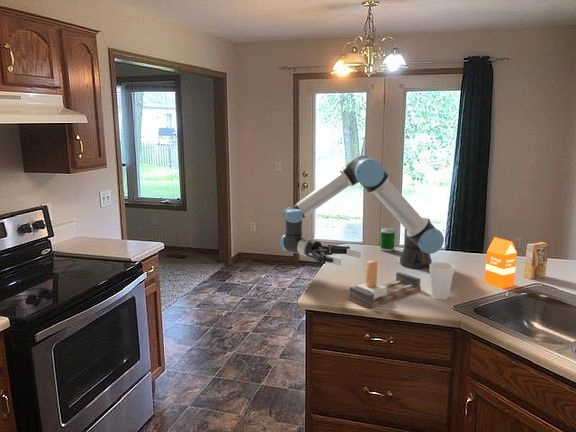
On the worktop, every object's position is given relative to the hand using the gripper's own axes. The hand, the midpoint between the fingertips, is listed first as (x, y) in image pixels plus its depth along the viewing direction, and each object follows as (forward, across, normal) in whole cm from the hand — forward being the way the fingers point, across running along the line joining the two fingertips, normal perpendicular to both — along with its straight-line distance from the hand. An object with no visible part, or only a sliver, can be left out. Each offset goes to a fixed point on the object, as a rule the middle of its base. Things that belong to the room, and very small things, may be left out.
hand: (350, 258), depth 186 cm
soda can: (-22, -66, -15) cm, 71 cm away
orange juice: (+42, -52, -15) cm, 68 cm away
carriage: (+10, 0, -12) cm, 16 cm away
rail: (+12, -9, -15) cm, 21 cm away
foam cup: (+29, -22, -15) cm, 39 cm away
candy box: (+50, -72, -14) cm, 88 cm away
